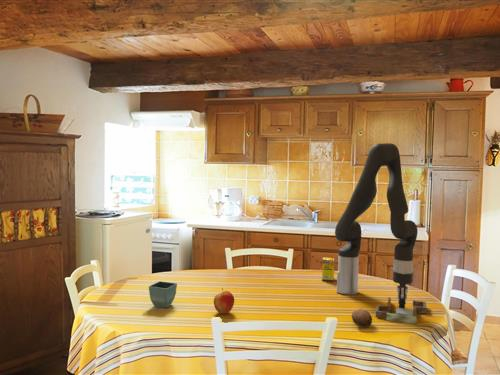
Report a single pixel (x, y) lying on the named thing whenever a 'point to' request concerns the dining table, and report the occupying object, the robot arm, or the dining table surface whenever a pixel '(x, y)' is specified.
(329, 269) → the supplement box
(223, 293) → the apple
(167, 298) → the flower pot
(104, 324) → the dining table surface
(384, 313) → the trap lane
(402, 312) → the block
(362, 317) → the brown oval ball
